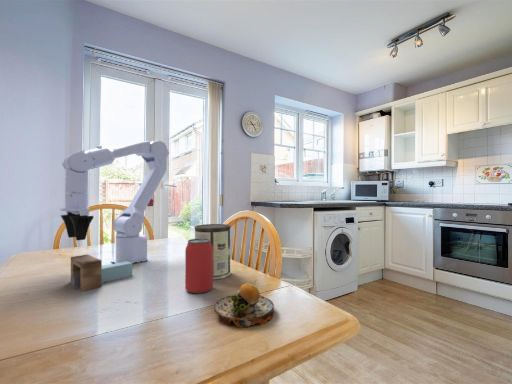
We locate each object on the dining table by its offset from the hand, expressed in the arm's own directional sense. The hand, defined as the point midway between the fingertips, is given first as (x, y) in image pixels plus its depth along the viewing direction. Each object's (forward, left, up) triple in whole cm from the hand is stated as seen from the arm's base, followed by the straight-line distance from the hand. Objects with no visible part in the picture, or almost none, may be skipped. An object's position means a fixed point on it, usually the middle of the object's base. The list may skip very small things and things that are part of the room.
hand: (76, 238), depth 80 cm
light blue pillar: (-3, +15, -10) cm, 18 cm away
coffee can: (-25, +33, -10) cm, 43 cm away
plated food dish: (-13, +57, -10) cm, 59 cm away
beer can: (-15, +40, -10) cm, 44 cm away
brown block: (+2, +15, -10) cm, 18 cm away
